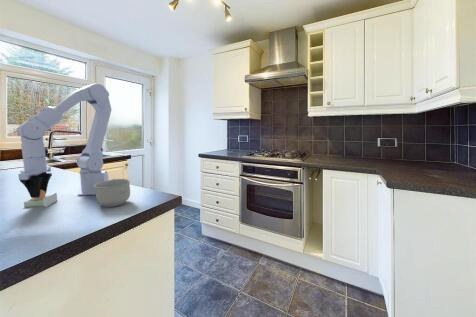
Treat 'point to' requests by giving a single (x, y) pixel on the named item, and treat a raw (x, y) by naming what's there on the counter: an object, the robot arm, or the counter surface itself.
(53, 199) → the wall
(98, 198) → the teacup
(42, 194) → the ball
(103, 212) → the counter surface
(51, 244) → the counter surface
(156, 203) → the counter surface
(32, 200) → the tray
